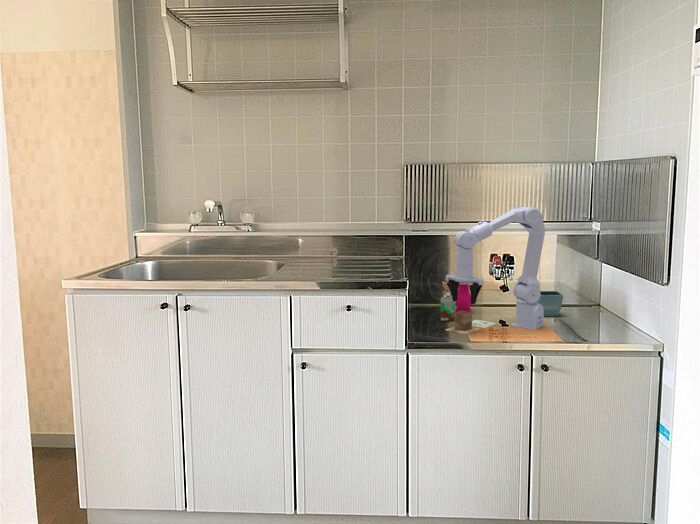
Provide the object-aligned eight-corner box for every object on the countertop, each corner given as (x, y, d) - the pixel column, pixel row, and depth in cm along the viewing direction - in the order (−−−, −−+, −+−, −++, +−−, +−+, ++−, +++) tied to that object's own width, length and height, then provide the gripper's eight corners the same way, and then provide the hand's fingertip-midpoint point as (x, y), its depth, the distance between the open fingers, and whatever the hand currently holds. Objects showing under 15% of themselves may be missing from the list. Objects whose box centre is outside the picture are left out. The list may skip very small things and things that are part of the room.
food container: (456, 323, 240) (457, 297, 239) (440, 323, 241) (440, 297, 240) (458, 316, 252) (458, 291, 250) (442, 315, 253) (442, 291, 252)
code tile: (496, 323, 239) (496, 323, 239) (484, 328, 232) (484, 327, 232) (476, 320, 245) (476, 319, 245) (463, 324, 238) (463, 324, 238)
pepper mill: (451, 311, 260) (452, 263, 257) (468, 310, 262) (469, 262, 259) (457, 315, 253) (458, 265, 250) (475, 314, 255) (475, 265, 252)
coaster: (480, 330, 230) (480, 328, 230) (466, 335, 224) (466, 333, 224) (458, 326, 236) (458, 324, 236) (445, 331, 230) (445, 329, 230)
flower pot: (534, 312, 256) (535, 290, 255) (556, 312, 256) (557, 290, 255) (540, 317, 248) (540, 295, 246) (562, 317, 247) (563, 295, 246)
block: (471, 328, 230) (472, 312, 229) (464, 331, 227) (465, 314, 226) (461, 326, 233) (461, 310, 232) (454, 329, 230) (454, 312, 229)
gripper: (441, 264, 229) (441, 301, 231) (476, 268, 219) (475, 307, 221) (452, 262, 234) (451, 298, 236) (486, 266, 224) (486, 303, 226)
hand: (464, 302), depth 229 cm, fingers open, 7 cm apart
